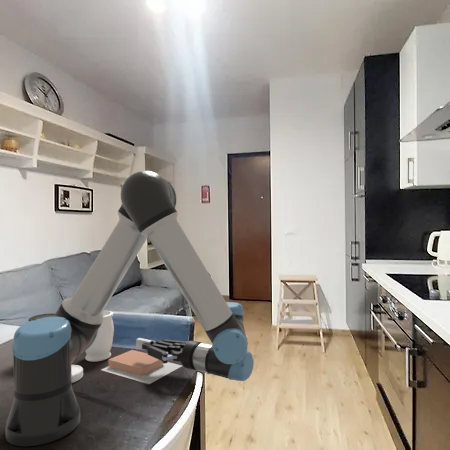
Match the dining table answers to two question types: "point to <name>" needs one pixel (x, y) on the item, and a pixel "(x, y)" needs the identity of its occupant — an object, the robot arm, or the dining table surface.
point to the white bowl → (76, 373)
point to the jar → (102, 340)
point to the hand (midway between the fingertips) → (138, 342)
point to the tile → (135, 362)
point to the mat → (149, 376)
